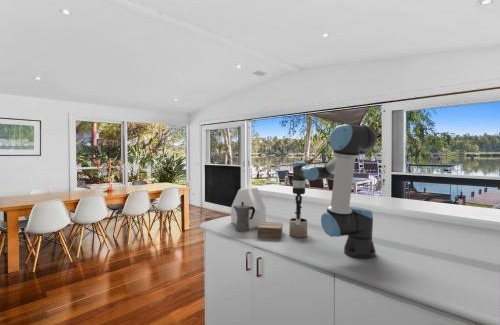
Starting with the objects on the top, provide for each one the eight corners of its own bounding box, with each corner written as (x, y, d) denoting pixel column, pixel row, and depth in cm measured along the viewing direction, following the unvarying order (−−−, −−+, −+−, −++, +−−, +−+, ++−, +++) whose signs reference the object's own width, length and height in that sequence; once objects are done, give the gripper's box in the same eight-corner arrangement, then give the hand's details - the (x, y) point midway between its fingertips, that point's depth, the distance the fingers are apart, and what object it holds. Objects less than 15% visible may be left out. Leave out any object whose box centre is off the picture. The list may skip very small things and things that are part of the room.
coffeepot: (230, 230, 192) (230, 202, 191) (236, 226, 201) (236, 200, 200) (252, 232, 187) (252, 204, 186) (257, 229, 195) (257, 201, 194)
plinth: (281, 238, 175) (281, 228, 175) (257, 237, 177) (257, 227, 177) (282, 231, 189) (282, 222, 188) (260, 230, 191) (260, 221, 191)
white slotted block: (265, 224, 207) (265, 189, 205) (248, 228, 197) (248, 191, 195) (247, 219, 221) (247, 186, 220) (231, 222, 211) (231, 187, 210)
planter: (306, 232, 187) (306, 217, 187) (308, 238, 176) (308, 222, 176) (289, 232, 188) (289, 217, 188) (289, 237, 177) (289, 221, 177)
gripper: (293, 184, 194) (292, 216, 195) (292, 190, 169) (291, 226, 171) (304, 184, 192) (304, 216, 194) (305, 190, 168) (304, 227, 169)
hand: (298, 221), depth 182 cm, fingers open, 13 cm apart
